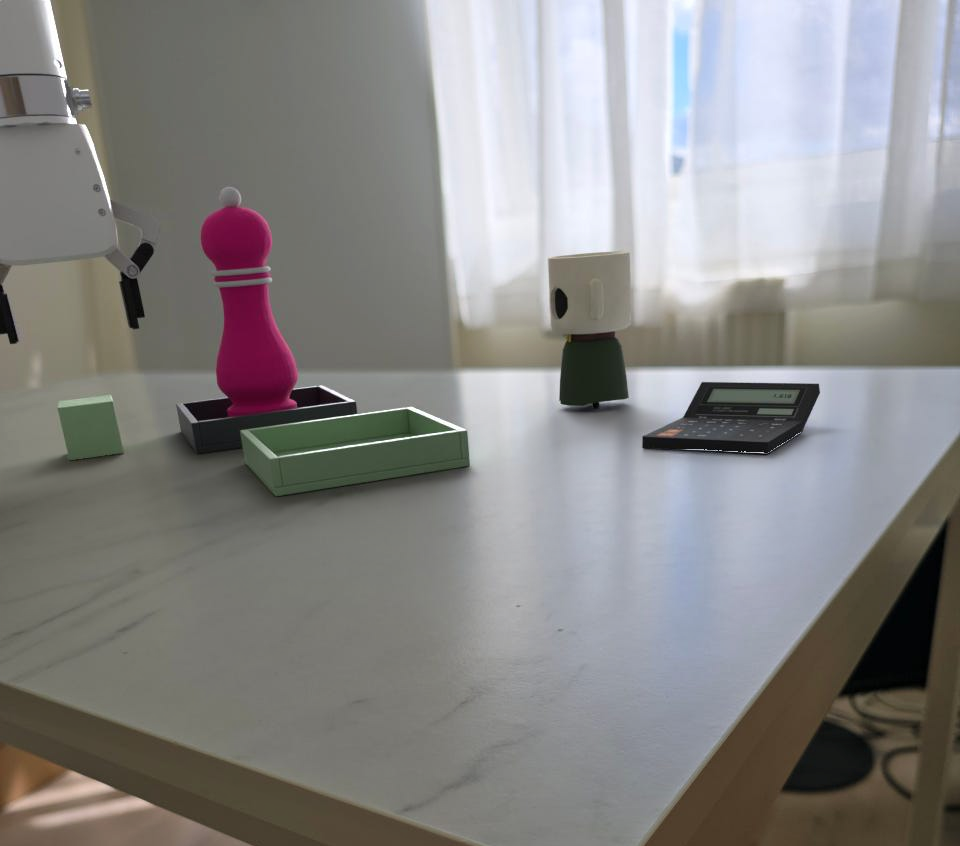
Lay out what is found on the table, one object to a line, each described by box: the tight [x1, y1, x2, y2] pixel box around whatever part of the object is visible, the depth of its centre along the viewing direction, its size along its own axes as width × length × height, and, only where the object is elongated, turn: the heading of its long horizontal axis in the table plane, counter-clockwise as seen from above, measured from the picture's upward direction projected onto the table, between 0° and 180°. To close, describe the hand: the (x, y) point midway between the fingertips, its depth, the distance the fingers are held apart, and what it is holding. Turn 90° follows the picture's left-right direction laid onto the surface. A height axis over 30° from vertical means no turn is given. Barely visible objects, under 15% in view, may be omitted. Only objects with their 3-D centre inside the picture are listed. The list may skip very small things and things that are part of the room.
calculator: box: [641, 381, 821, 453], centre depth 76 cm, size 9×12×3 cm
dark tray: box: [175, 384, 358, 455], centre depth 93 cm, size 14×13×3 cm
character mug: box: [547, 250, 632, 410], centre depth 90 cm, size 11×7×13 cm, turn 1°
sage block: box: [57, 394, 125, 461], centre depth 89 cm, size 4×4×4 cm
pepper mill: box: [200, 186, 299, 417], centre depth 90 cm, size 7×7×20 cm
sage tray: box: [240, 406, 471, 497], centre depth 77 cm, size 14×13×3 cm
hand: (75, 335), depth 86 cm, fingers open, 9 cm apart
